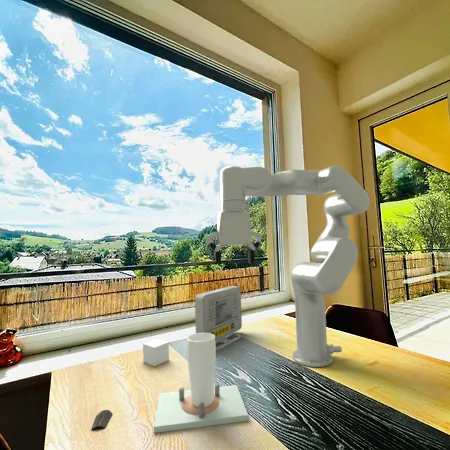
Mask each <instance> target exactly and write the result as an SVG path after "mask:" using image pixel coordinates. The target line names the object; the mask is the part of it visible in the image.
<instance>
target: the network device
mask: <svg viewBox="0 0 450 450" xmlns="http://www.w3.org/2000/svg"><path fill="white" fill-rule="evenodd" d="M241 293H242V291H241V286H236V285H235V286H234V285H231V286H230V285H229V286H227V287H226V286H225V287H223V288H218V289H214V290H210V291H206V292H202V293H197V294H196V295H195V297H194V306H195V307H194V309H195V311H194V313H195V334H196V333H210V334H213V335H214V336H215V343H222V344H220V345H217V346H216V351H218V350H220V349H222V348H224V347H226V346H229V345H230V344H232V343H233V342H235V341H237V340H239V339H241V337H242V336H241V334H240V333H236V332H238V331H239V330H241V329H242V327H243V319H242V317H243V316H242V294H241ZM230 335H231V336H234V338H232V339H227V338H226V337H228V336H230Z"/></svg>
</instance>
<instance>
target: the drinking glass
mask: <svg viewBox="0 0 450 450" xmlns="http://www.w3.org/2000/svg"><path fill="white" fill-rule="evenodd" d="M186 341H187V342H186V343H187V344H186V345H187V346H186V348H187V349H186V351H187V352H186V353H187V365H188V374H189V385H190V390H191V402H192V404H193V405H194V406H196V407H199V404H200V403H204V407H207V406H209V405H211V404H212V403H213V401H214V387H215V376H216V375H215V373H216V372H215V371H216V358H217V357H216V355H217V354H216V353H217V352H216V351H217V350H216V347H217V346H216V342H215V336H214V335H213V334H210V333H196V332H195V333H193V334H189V336H188V337H187V340H186Z"/></svg>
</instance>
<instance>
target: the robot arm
mask: <svg viewBox="0 0 450 450" xmlns="http://www.w3.org/2000/svg"><path fill="white" fill-rule="evenodd" d="M219 174H220V175H219V176H220V181H219V183H220V184H219V185H220V209H221V211H220V212H218V216H217V223H216V225H217V226H216V231H215V232H213V233H211V234H209V235H208V236H206V237H205V240H206V242H207V244H208V245H209V247H210V248H211V249H212V251H214V256H215V257H214V259H215V263H217V266H221V265H222V253H221V248H222V247H223V246H240V245H242V246H243V245H244V246H246V247H247V248H248V251H247V259H248V260H247V261H248V262H247V263H248V264H250V265H254V262H255V261H256V259H255V251H256V249H257V248H258V247H259V246H260V245H261V242H262V240H263V236H262V235H261V234H259V233H257V232H255V231H254V230H252V228H251V227H252V226H251V220H250V215H249V212H248V211H247V210H248V209H251V204H250V203H247V201H246V200H247V199H246V197H256V198H257V197H276V196H277V197H279V196H281V197H283V196H323V195H326V194H327V195H328V194H331V193H335V194H332V195H330V196H327V198H326V199H325V201H324V204H323V211H324V213H325V218H326V225H325V228H324V230H322V232H321V234H320V235H319V237H318V238H317V239H316V240H315V242H314V244H313V246H312V248H311V250H310V258H311V260H312V261H303V262H301V261H300V262H299V263H297V264H296V265H294V266H293V268H292V270H291V273H290V280H291V286H292V289H293V294H294V308H295V330H296V350H294V351H293V352H292V359H293V360H294V361H295V362H296V363H298V364H300V365H303V366H306V367H312V368H321V367H328V366H330V365H331V364H333V362H334V358H333V354H334V353H337V354H338V353H342V352H343V351H342V347H341V346H340V345H337V346H336V345H335V346H334V344H332V343H331V344H328V338H327V337H328V336H327V318H326V317H327V316H326V315H327V314H326V304H325V303H326V302H325V298H324V296H331V295H334V294H336V293H337V292H338V291H340V289H341V288H342V286H343V285H344V283H345V282H346V280H347V279H348V277H349V275H350V274H351V272H352V271H353V269H354V267H355V265H356V263H357V260H358V256H359V250H358V246H357V244H356V243H355V242H354V241H353V240H352V239H350V235H351V229H350V225H349V223H348V220H347V218H346V217H348V216H356V215H360V214H364V213H365V212H367V211H368V210H369V209H370V208H369V207H370V205H371V203H370V202H371V200H370V197H369V195H368V192H367V191H366V190H365V189H364V187H362V186H361V185H360V183H359V182H358V181H357V180H356V179H355V177H354V176H352V174H351V173H349V172H348V170H346V169H345V168H343V167H341V166H339V165H330V166H328V167H326V168H325V167H324V168H323V169H320V170H313V169H312V170H310V169H309V170H308V169H293V168H291V169H287V170H284V171H279V172H276V173H273V174H271V171H269V170H268V169H267V168H265V167H262V166H252V167H251V166H250V167H249V166H248V167H241V166H237V165H236V166H234V165H233V166H232V165H230V166H225V167H223V168H222V169H221V170H220V173H219ZM214 238H216V242H217V244H215V243H213V241H212V240H213V239H214ZM252 238H255V241H254V243H252ZM323 295H324V296H323Z"/></svg>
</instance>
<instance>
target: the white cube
mask: <svg viewBox="0 0 450 450" xmlns="http://www.w3.org/2000/svg"><path fill="white" fill-rule="evenodd" d="M169 344H170V343H169V341H166V340H162V339H160V338H155V339H153V340H150V341H147V342H144V343H142V346H143V347H142V350H143V351H142V355H143V357H142V360H143V361H142V362H143V363H145V364H147V365H150V366H152V367H156V366H158V365H159V366H160V365H161V364H163V363H165V362H168V361H169V360H170V350H169V349H170V346H169Z"/></svg>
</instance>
